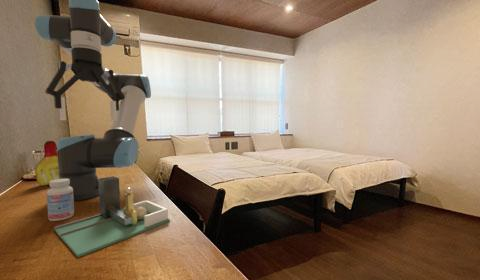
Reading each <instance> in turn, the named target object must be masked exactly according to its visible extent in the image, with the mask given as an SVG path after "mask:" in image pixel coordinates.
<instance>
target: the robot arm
mask: <svg viewBox="0 0 480 280" xmlns="http://www.w3.org/2000/svg"><path fill="white" fill-rule="evenodd" d="M100 11H101V9H100V3H99V1H98V0H68V12H69V13H68V15H69V16H67V15H66V16H65V15H56V14H55V15H53V14H39V15H37V16H36V17H35V21H34V27H35V30H36V32H37V34H38V35H39V37H40V38H41V39H43V40H47V41H51V42H52V41H55V42H56V43H57V44H58V45H59V46H60V47H61V49H63V50H64V52H66V54H67V55H68V56H69V57H70V58H71V64H70V63H66V61H60V62H58V65H57V67H58V68H57V71H56V73H55V74H54V76H53V77H52V79H51V81H50V82H49V84H48V85H47V88H46V89H45V91H44V93H45V94H46V95H50V96H52V97H53V98H54V100H53V101H54V108H55V109H59V121H67V115H66V114H67V113H66V98H65V97H66V96H62V95H64V94H65V93H66V91H68V90H69V89H70V88H71V87H72V86H74V84H75V83H76V82H77V81H79V80H80V81H81V82H88V83H92V84H93V85H94V87H95V88H97V89H98V90H100V91H101V92H103V93H105V94H107V96H108V97H109V98H110V99H111V100H110V101H109V111H110V121H113V122H112V125H111V128H110V129H108V130H106V131H105V132H104V134H103V137H96V136H95V134H86V135H76V136H68V137H61V138H60V139H58V140H57V142H56V146H57V156H58V169H59V179H70V184H69V186H71V187H72V188H73V200H74V202H78V201H84V200H89V199H91V198H95V197H98V196H99V181H98V179H99V177H98V174H97V169H112V168H117V169H120V168H121V169H122V168H130V167H131V166H133V165H134V164H135V162H136V161H137V158H138V156H139V142H138V140H137V139H136V137H135V135H134V131H135V128H136V124H137V120H138V115H139V113H140V109H141V105H142V104H144V103H145V101H146V99H149V98H151V96H152V90H151V89H152V88H151V84H150V80H149V77H148V75H146V74H141V73H138V74H132V73H115V72H114V70H112V69H108V68H106V67H105V66H104V65H103V60H102V58H103V57H102V56H103V55H102V53H101V52H102V47H111V46H113V45H114V44H116V41H117V33H116V31H115V29H114V28H113V26H112V25H111V24H110V23H109V22H107V20H106V19H105V18H104V17H103V16H102V15H101V14H100ZM69 70H71V72H72V73H73V75H72V76H71V77H70V79H68V80H67V81H66V82H65V83H64V84H63V85H62V86H60V87H59V89H57V90H55V89H56V87H57V86H58V84H59V83H60V81H61V79H62V78H63V76H64V75H65V73H66V72H67V71H69Z"/></svg>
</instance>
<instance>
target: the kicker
mask: <svg viewBox="0 0 480 280" xmlns="http://www.w3.org/2000/svg"><path fill="white" fill-rule="evenodd" d="M98 181H99V195H98V198H99V199H98V200H99V202H98V203H99V214H100V216H101V217H103V218H104V219H108V218H111V217H112V218H114V219H115V220H117V221H119V222H120V223H122V224H123V225H128V224H131V225H134V224H137V211H135V210H134V204H135V203H134V202H135V201H134V193H133V188H132V187H126V188H125V191H124V208H122V209H124V213H123V212H121V211H120V210H121V199H120V198H121V195H120V193H121V192H120V178H119V177H117V176H113V175H112V176H106V177H101V178H98Z"/></svg>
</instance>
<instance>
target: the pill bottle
mask: <svg viewBox="0 0 480 280" xmlns="http://www.w3.org/2000/svg"><path fill="white" fill-rule="evenodd" d="M69 184H70V179H56V180H52V181H50V182H49V187H50V188H49V189H48V190H47V191H46V202H47V218H48V220H49V221H50V222H60V221H64V220H67V219H68V220H69V219H70V218H72V217H73V216H74V214H75V207H74V206H75V204H74V203H75V201H74V200H73V188H72V187H71V186H69Z"/></svg>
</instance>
